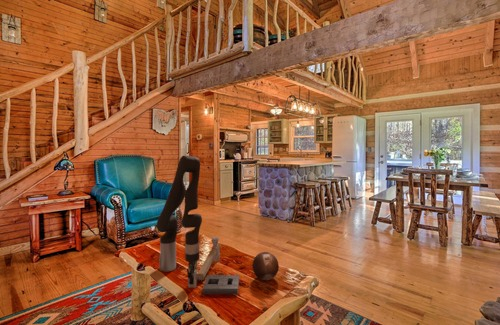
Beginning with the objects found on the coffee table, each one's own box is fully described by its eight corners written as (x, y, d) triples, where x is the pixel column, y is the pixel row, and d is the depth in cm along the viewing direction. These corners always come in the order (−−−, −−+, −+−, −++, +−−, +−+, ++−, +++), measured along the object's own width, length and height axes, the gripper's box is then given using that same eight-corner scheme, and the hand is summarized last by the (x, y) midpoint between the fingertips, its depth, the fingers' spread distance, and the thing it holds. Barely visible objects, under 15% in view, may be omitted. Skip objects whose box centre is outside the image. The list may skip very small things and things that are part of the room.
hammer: (202, 266, 139) (219, 236, 167) (194, 265, 140) (212, 236, 168) (205, 289, 143) (221, 256, 171) (197, 288, 144) (214, 256, 172)
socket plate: (202, 294, 129) (202, 288, 128) (207, 280, 143) (207, 274, 142) (237, 294, 128) (237, 288, 128) (239, 280, 142) (239, 275, 142)
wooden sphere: (259, 288, 134) (259, 260, 134) (248, 275, 148) (248, 250, 147) (283, 282, 140) (283, 255, 140) (270, 270, 154) (270, 246, 153)
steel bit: (188, 287, 135) (187, 273, 134) (189, 283, 139) (189, 269, 138) (195, 287, 135) (195, 273, 134) (197, 283, 139) (197, 269, 138)
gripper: (188, 245, 143) (189, 275, 144) (181, 256, 129) (182, 289, 130) (201, 245, 143) (202, 275, 144) (196, 256, 129) (196, 289, 129)
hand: (192, 281), depth 137 cm, fingers closed on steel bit, 4 cm apart
